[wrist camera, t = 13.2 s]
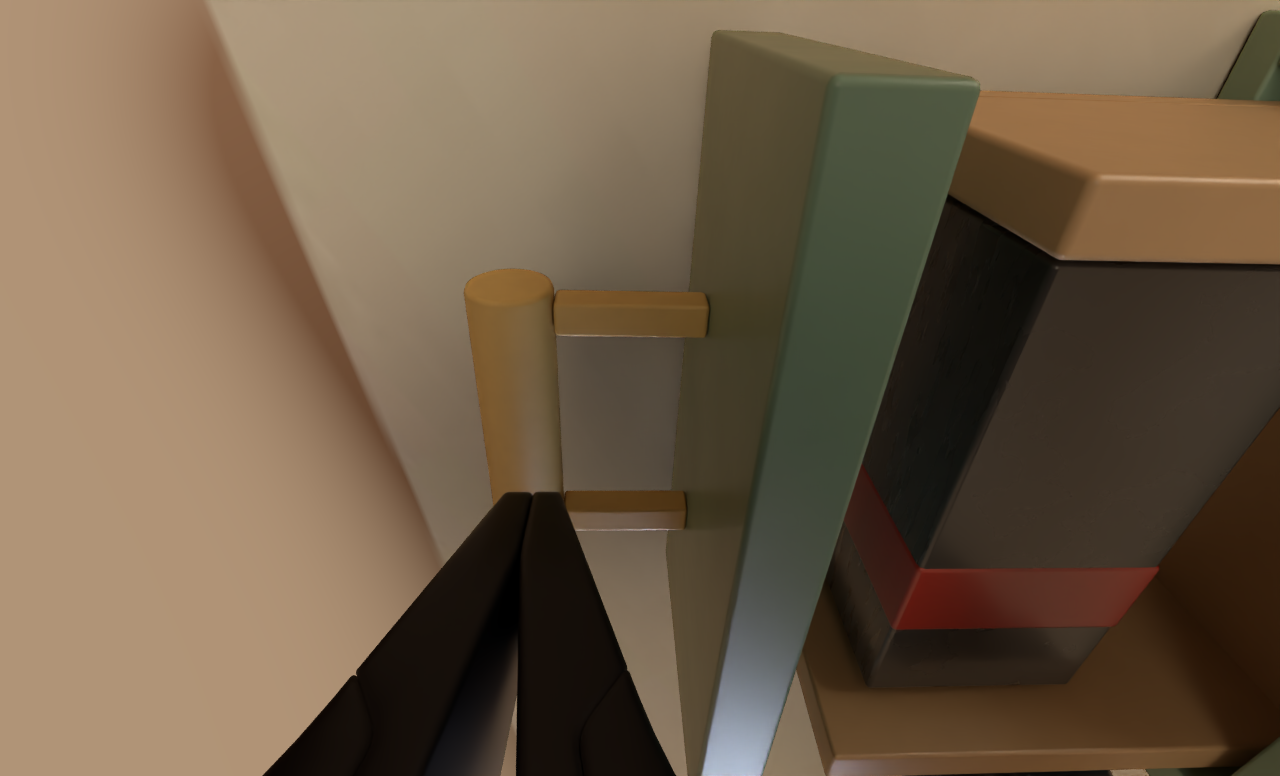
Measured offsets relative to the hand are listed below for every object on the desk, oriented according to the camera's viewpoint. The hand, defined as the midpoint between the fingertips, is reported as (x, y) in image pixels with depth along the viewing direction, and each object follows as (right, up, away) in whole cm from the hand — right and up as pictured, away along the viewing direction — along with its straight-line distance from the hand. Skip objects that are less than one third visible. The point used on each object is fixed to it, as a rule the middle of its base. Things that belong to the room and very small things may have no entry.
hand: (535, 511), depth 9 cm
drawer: (+7, +3, +4) cm, 8 cm away
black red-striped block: (+8, +2, +3) cm, 9 cm away
